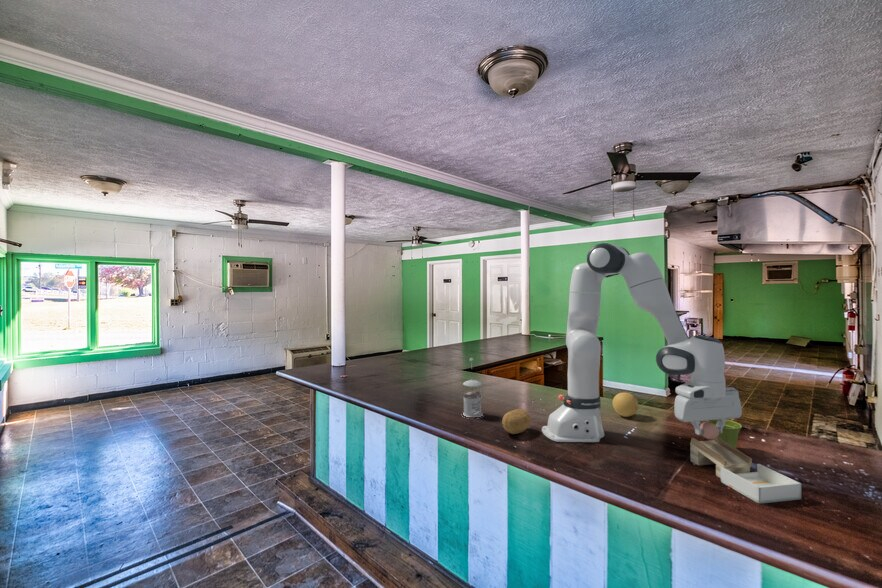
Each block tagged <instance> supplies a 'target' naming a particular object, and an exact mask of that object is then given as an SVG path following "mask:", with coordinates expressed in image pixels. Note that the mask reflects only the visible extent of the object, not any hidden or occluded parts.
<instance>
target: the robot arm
mask: <svg viewBox="0 0 882 588" xmlns="http://www.w3.org/2000/svg"><path fill="white" fill-rule="evenodd" d="M618 275H620V276H621V277H623V279H624V281H625V283H626V286H627V289H628V291H629V294H630V296H631V298H632V300H633V302H634V303H635V305H636V306H637V307H638V308H639V309H640V310H642V311H645V312H646V313H649V314H650V315H651V316H653V317H654V318H655V319H656V321H657V322H658V324H659V326H660V328H661V331H662V333H663V335H664V337H665V339H666V341H667V345H665V346H663V347H661V348H660V349H659V350H658V351H657V353H656V356H655V362H656V365H657V366H658V368H659V369H660V371H661V372H663V373H665V374H667V375H671V376H679V375H680V376H681V375H689V376H690V380H689V381H687V382H685V383H683V384H682V383H681V384H680V385H678V386H676V387H675V393H676V394H677V395H676V396H675V400H674V407H673V409H674V412H673V413H674V416H675V419H677V420H679V421H681V422H683V423H691V424H692V426H693V428H694V434H696V435H698V436H702V435H703V434H704V433H703V432H704V429H701V428H700V425H701V424H702V423H701V422H704V421H705V422H707V420H717V424H716V426H717V428H718V430H719V433H722V428H723V427H724V425H725V423H726V420H731V419H740V418H741V416H742V414H743V413H742V412H743V411H742V402H741V399H740V393H739V390H737V388H735V387H733V386H732V387H731V386H730V387H726V386H727V385H726V377H725V374H724V372H725V368H726V357H725V348H724V346H723V345H724V344H723V343H722V342H721V340H719V339H718V338H717V337H716V338H715V337H712V336H709V335H702V334H697V335H696V334H695V335H693V336H692V337H689V336H688V334H687V332H686V329H685V328H684V326H683V323H682V322H681V319H680V317H679V315H678V313H677V311H676V309H675V306H674V304H673V300H672V297H671V296H670V292H669V289H668V286H667V283H666V281H665V279H664V276H663V274H662V272H661V270H660V268H659V266H658V264H657V263H656V261H655V260H654V258H653V256H652V255H650V254H649V253H647V252H644V251H643V252H640V251H639V252H635V253H631V254H630V253H629V251H628V250H627V249H626V248H625V247H622V246H620V245H617V244H614V243H607V242H602V243H597V244H595V245H593V246H592V247H591V248H590V249H589V250H588V252H587V255H586V262H582V263H578V264H577V265H575V266H574V268H573V269H572V273H571V277H570V283H569V293H568V295H569V296H568V312H567V313H568V314H567V321H566V322H567V323H566V325H567V326H566V333H565V334H566V335H565V345H566V347H567V356H568V357H567V393H566V395H563V394H559V395H558V400H560V401H562V402H563V403H562V404H561V405H560V406H559V407H558V408H557V409H555V410H554V411H553V412H551V413H550V414H549V416H548V418H547V419H548V420H547V425H543V426H541V427H542V428H541V432H542V434H543V435H544V436H545V437H546V438H548V439H550V440H551V441H553V442H558V443H599V442H600V441H601V439H602V438H604V437H605V436H606V435H605V431H604V429H603V428H604V427H603V425H602V424H603V423H602V418H601V407H602V406H601V405H602V404H601V395H600V383H599V382H600V367H601V366H600V364H601V341H600V340H599V338H598V337H597V332H598V324H599V320H600V319H599V318H600V315H601V314H600V313H601V298H602V297H601V295H602V294H601V293H602V283H603V281H604V279H605V278H607V279H608V278H610V277H615V276H618Z"/></svg>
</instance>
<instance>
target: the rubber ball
mask: <svg viewBox="0 0 882 588" xmlns="http://www.w3.org/2000/svg"><path fill="white" fill-rule="evenodd" d="M699 426H700V428H701V429H704V432H703V433H704V434H703V435H701V436H702V437H703V438H705V439H707V440H712V439H715V438H717V437H718V435H719V430H718V428H717V426H716V425H714V424H713V423H710V422H707V421H705V422H702V423H701V424H699Z"/></svg>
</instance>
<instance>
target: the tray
mask: <svg viewBox="0 0 882 588" xmlns="http://www.w3.org/2000/svg"><path fill="white" fill-rule="evenodd" d="M720 482H721V483H722V484H724V485H725V486H727V487H729V488H731V489H733V490H735V491H736V492H738V493H740V494H741V495H743V496H745V497H746V498H748V499H750V500H752V501H754V502H755V503H757V505H758V504H769V503H778V502H787V501H788V502H789V501H797V500H802V483H801V482H799V481H797V480H795V479H793V478H790V477H788V476H786V475H784V474H782V473H780V472H778V471H775V470H773V469H771V468H769V467H767V466H766V465H765V466H764V465H763V464H761V463H757V471H752V472H751V471H750V473H739V474H734V473H732V472H731V471H729V470H727V469H725V468H723V467H721V478H720Z"/></svg>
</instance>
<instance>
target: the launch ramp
mask: <svg viewBox="0 0 882 588" xmlns="http://www.w3.org/2000/svg"><path fill="white" fill-rule="evenodd" d="M689 445H690V446H689V447H690V451H689V452H690V458H689V459H690V462H691V463H693V464H695V465H697V466H709V465H715V476H716V477H717V478H720V479H721V467H723V468H725V469H727V470H729V471H731V472H732V473H734V474H739V473H750V472H751V467H752V465H753V462H752V461H753V458H751V457H750V456H748V455H746V454H745V453H744V452H742V451H741V450H739V449H738V448H737V447H736V448H734V447H733V446H731V445H730V444H728V443H727V442H725V441H724V440H722V439H720V438H719V437H717V438H715V439H714V440H712V439H709V440H698V439H697V438H695V437H691V440H690V443H689Z"/></svg>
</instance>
